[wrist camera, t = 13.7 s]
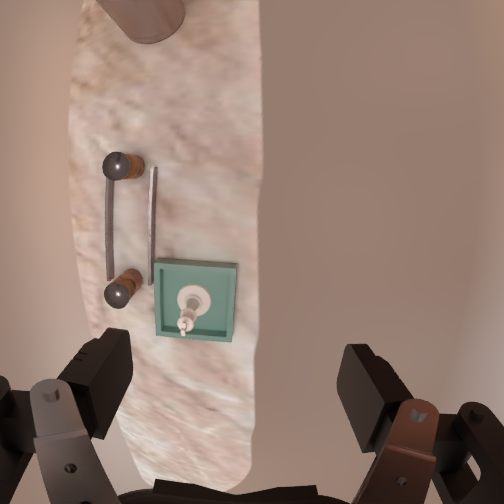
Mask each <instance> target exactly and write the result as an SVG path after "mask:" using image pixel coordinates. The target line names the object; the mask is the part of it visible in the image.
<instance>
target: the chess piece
mask: <svg viewBox="0 0 504 504" xmlns="http://www.w3.org/2000/svg"><path fill="white" fill-rule="evenodd" d="M177 303H178V306H179V308H180V309H181V310H182V311H181V313H180V318H179V319H178V321H177V325H178V328H179V329H180V330H181V336H185V335H186V332H188V331H191V330H192V329H193V327H194V321H195V320H196V319H197V316H200V315H203V314H205V313H206V312H207V311H208V310H209V308H210V306H211V303H212V297H211V294H210V292H209V290H208V289H207V288H206V287H205V286H203V285H201V284H198V283H188V284H186V285H184V286H183V287H182V288H181V289H180V290H179V292H178V296H177Z"/></svg>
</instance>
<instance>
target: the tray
mask: <svg viewBox="0 0 504 504" xmlns="http://www.w3.org/2000/svg"><path fill="white" fill-rule="evenodd" d="M236 268H237V264H234V263H220V262H205V261H192V260H178V259H165V258H158V259H157V260H156V261H155V262H154V298H155V324H156V336H165V337H174V338H184V339H195V340H206V341H219V342H232V329H233V313H234V298H235V283H236ZM188 283H198V284H201V285H203V286H205V287H206V288H207V289H208V290H209V292H210V294H211V297H212V303H211V306H210V308H209V310H208V311H207V312H206V313H205V314H203V315H200V316H197V319H196V320H195V321H194V327H193V329H192V330H191V331H188V332H186V335H185V336H181V330H180V329H179V328H178V325H177V321H178V319H179V318H180V313H181V311H182V310H181V309H180V308H179V306H178V303H177V296H178V292H179V290H180V289H181V288H182V287H183V286H184V285H186V284H188Z"/></svg>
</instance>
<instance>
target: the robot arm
mask: <svg viewBox="0 0 504 504" xmlns="http://www.w3.org/2000/svg"><path fill="white" fill-rule="evenodd" d="M96 1H97V2H98V3H99V4H100V5H101V7H102V8H103V9H104V10H105V11H106V12H107V13H108V14H109V16H110V17H111V18H112V19H113V20H114V21H115V22H116V23H117V25H118V26H119V27H120V28H121V29H122V30H123V32H124V33H125V34H126V35H127V36H128V37H129V38H130V39H131V40H133V41H135V42H138V43H142V44H149V43H155V42H158V41H161V40H163V39H165V38H167V37H169V36H170V35H171V34H173V33H174V32H175V31H176V30H177V29H178V28H179V26H180V25H181V23H182V21H183V19H184V7H183V4H182V2H181V0H96ZM132 376H133V361H132V352H131V343H130V335H129V332H128V330H123V329H116V328H107V329H106V331H105V332H104V333H103V335H102V336H101V337H100V338H99V339H97V338H94V339H92V340H91V341H89V342H87V343H85V344H84V345H83V346H82V348H81V349H80V350H79V351H78V353H77V354H76V355H75V356H74V358H73V359H72V360H71V361H70V362H69V364H68V365H67V366H66V367H65V369H64V370H63V371H62V373H61V374H60V375H59V376H58V378H57V379H46V380H42V381H40V382H38V383H36V384H35V385H34V386H33V387H32V388H31V390H30V391H19V390H11V387H10V385H9V382H8V380H7V379H6V378H5V377H3V376H0V504H9V503H10V501H11V499H12V497H13V495H14V492H15V490H16V488H17V486H18V484H19V482H20V480H21V478H22V475H23V473H24V471H25V469H26V467H27V465H28V463H29V461H30V459H31V457H32V455H33V454H34V453H36V454H37V458H38V461H39V466H40V470H41V474H42V477H43V481H44V484H45V487H46V491H47V494H48V497H49V500H50V503H51V504H350V503H348V502H345V501H342V500H339V499H336V498H332V497H328V496H323V495H318V492H317V488H316V485H309V486H295V487H276V488H272V489H267V490H262V491H258V492H252V493H247V494H241V495H234V494H229V493H225V492H221V491H217V490H214V489H210V488H206V487H203V486H200V485H196V484H190V483H182V482H174V481H167V480H161V479H155V483H154V487H153V489H142V490H136V491H131V492H128V493H124V494H121V495H119V496H117V494H116V492H115V491H114V489H113V487H112V485H111V483H110V481H109V479H108V477H107V475H106V473H105V471H104V469H103V467H102V465H101V462H100V460H99V458H98V456H97V454H96V452H95V449H94V447H93V444H92V442H91V439H92V437H94V438H98V439H102V440H104V438H105V436H106V434H107V431H108V429H109V427H110V425H111V423H112V420H113V418H114V416H115V414H116V412H117V410H118V408H119V405H120V403H121V401H122V399H123V397H124V395H125V393H126V391H127V388H128V386H129V384H130V382H131V380H132ZM337 392H338V395H339V397H340V399H341V402H342V404H343V407H344V409H345V412H346V414H347V416H348V419H349V421H350V424H351V426H352V428H353V431H354V433H355V436H356V438H357V441H358V443H359V445H360V448H361V451H362V453H368V452H375V453H376V457H375V459H374V461H373V463H372V465H371V467H370V469H369V471H368V473H367V475H366V477H365V479H364V481H363V483H362V485H361V487H360V489H359V490H358V492H357V494H356V496H355V497H354V499H353V501H352V503H351V504H424V502H425V499H426V495H427V492H428V488H429V485H430V481H431V479H432V481H433V483H434V485H435V487H436V489H437V492H438V494H439V496H440V498H441V500H442V502H443V504H504V426H503V425H502V424H501V422H500V421H499V420H498V419H497V417H496V416H495V415H494V414H493V413H492V411H491V410H490V409H489V408H488V407H486V406H485V405H483V404H481V403H477V402H467V403H465V404H463V405H462V406H461V408H460V409H459V412H458V413H457V414H439V412H438V410H437V408H436V407H435V406H434V405H433V404H431V403H430V402H428V401H425V400H422V399H414V398H413V396H412V395H411V393H410V392H409V391H408V389H407V388H406V386H405V385H404V383H403V382H402V381H401V379H399V376H398V375H397V374H396V372H394V370H393V368H392V367H391V365H390V364H389V363H388V362H387V361H385V360H384V359H383V358H381V357H380V356H375V354H374V353H373V351H372V350H371V349H370V347H369V346H368V345H367V344H347V346H346V347H345V350H344V354H343V358H342V362H341V366H340V370H339V373H338V378H337ZM471 455H472V456H473V457H474V459H475V461H476V462H477V464H478V466H479V468H480V471H481V476H480V480H479V481H478V480H477V479H476V477H475V475H474V473H473V472H472V470H471V468H470V466H469V465H468V463H467V461H468V460H469V458H470V457H471Z"/></svg>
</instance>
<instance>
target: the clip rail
mask: <svg viewBox="0 0 504 504" xmlns="http://www.w3.org/2000/svg"><path fill="white" fill-rule="evenodd" d="M102 168H103V173H104V175H105V176H106V194H105V245H106V270H107V281H111V280H112V279H113V278H114V265H113V182H114V181H116V180H121V179H134V178H138V177H139V176H141V175H142V173H143V172H144V168H145V164H144V161H143V159H142V158H141V157H139V156H136V155H130V154H124V153H122V152H112V153H110V154H109V155H107V156H106V158H105V159H104V161H103V166H102ZM156 179H157V167H151V170H150V188H149V215H148V285H152V284H153V283H154V232H155V199H156ZM142 283H143V278H142V275H141V274H140V272H138V271H137V270H135V269H128V270H126V271H125V272H124V273H123V274H121V275H120V276H119V277H118V278H117V279H116V280H115V281H114V282H112V283H110V284H109V285H108V286H107V287H106V289H105V291H104V297H105V300H106V302H107V303H108V304H109V305H110V306H111V307H113V308H116V309H120V308H123V307H125V306H126V305H127V303H128V302H129V300H130V299H131V297H132V296H133V295H134V294H135V293H136V291H137V290H138V289H139V288H140V287H141V285H142Z"/></svg>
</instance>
